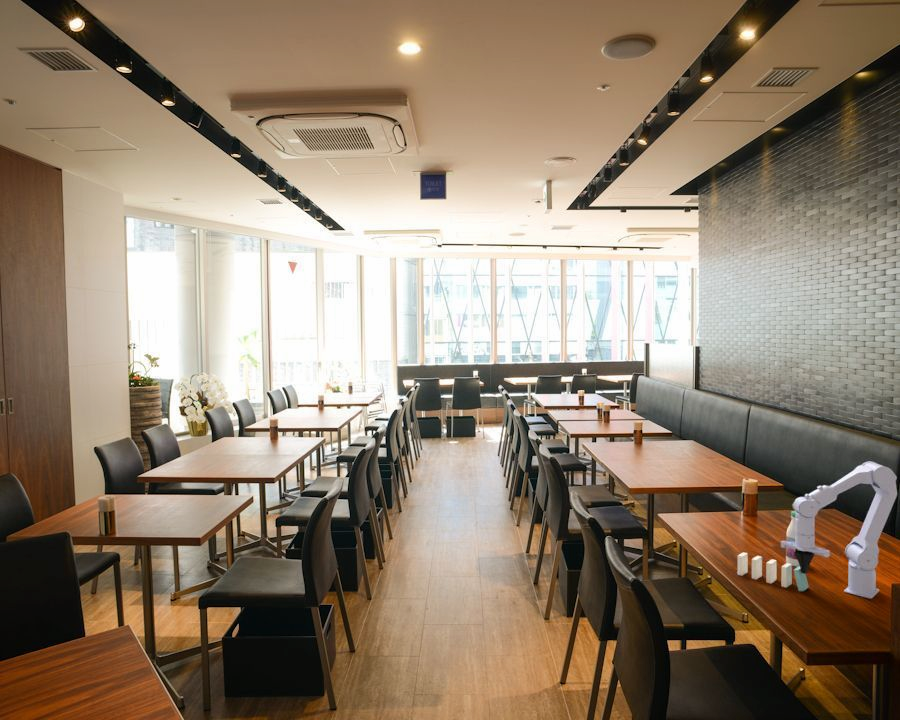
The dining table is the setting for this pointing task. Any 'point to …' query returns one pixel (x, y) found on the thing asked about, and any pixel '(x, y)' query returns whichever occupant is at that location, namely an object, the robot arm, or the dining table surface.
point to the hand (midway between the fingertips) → (804, 572)
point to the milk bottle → (791, 538)
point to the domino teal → (800, 579)
